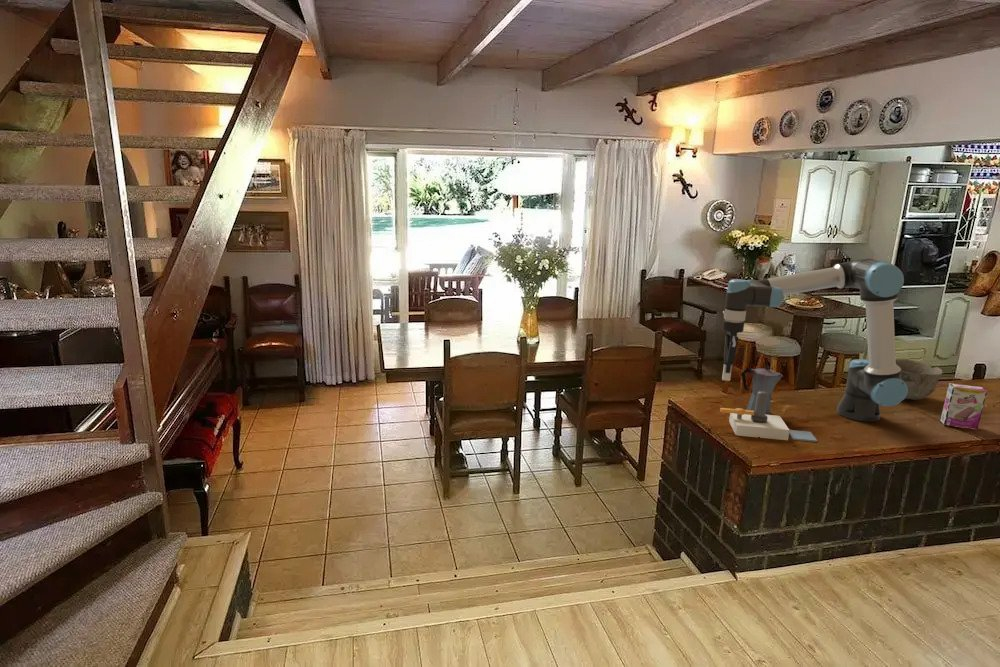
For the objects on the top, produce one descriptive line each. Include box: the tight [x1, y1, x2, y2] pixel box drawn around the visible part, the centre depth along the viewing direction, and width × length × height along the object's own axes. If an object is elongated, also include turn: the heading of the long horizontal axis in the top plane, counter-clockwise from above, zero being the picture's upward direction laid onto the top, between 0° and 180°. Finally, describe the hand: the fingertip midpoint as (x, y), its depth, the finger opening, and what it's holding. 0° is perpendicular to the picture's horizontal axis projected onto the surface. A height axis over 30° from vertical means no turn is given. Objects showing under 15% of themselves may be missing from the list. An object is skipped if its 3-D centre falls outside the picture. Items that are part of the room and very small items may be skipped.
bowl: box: [896, 358, 944, 401], centre depth 260 cm, size 22×22×15 cm
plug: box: [751, 391, 768, 423], centre depth 221 cm, size 6×6×15 cm
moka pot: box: [741, 365, 784, 415], centre depth 238 cm, size 10×15×20 cm, turn 78°
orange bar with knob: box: [719, 407, 754, 415], centre depth 222 cm, size 12×3×1 cm, turn 79°
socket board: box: [728, 413, 791, 441], centre depth 222 cm, size 18×14×6 cm
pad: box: [789, 429, 818, 443], centre depth 218 cm, size 8×8×1 cm
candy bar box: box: [939, 382, 988, 430], centre depth 229 cm, size 11×5×16 cm, turn 71°
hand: (726, 379), depth 228 cm, fingers closed
